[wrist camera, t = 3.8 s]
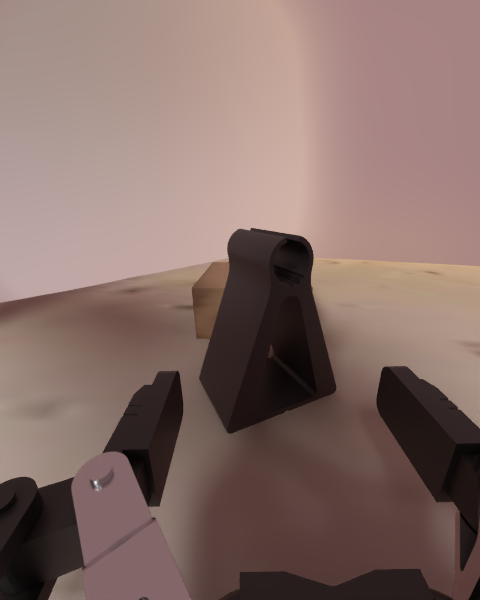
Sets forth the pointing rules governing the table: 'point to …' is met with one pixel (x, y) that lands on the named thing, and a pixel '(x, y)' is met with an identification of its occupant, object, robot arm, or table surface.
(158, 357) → the table surface
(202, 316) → the walnut block
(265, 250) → the phone stand
